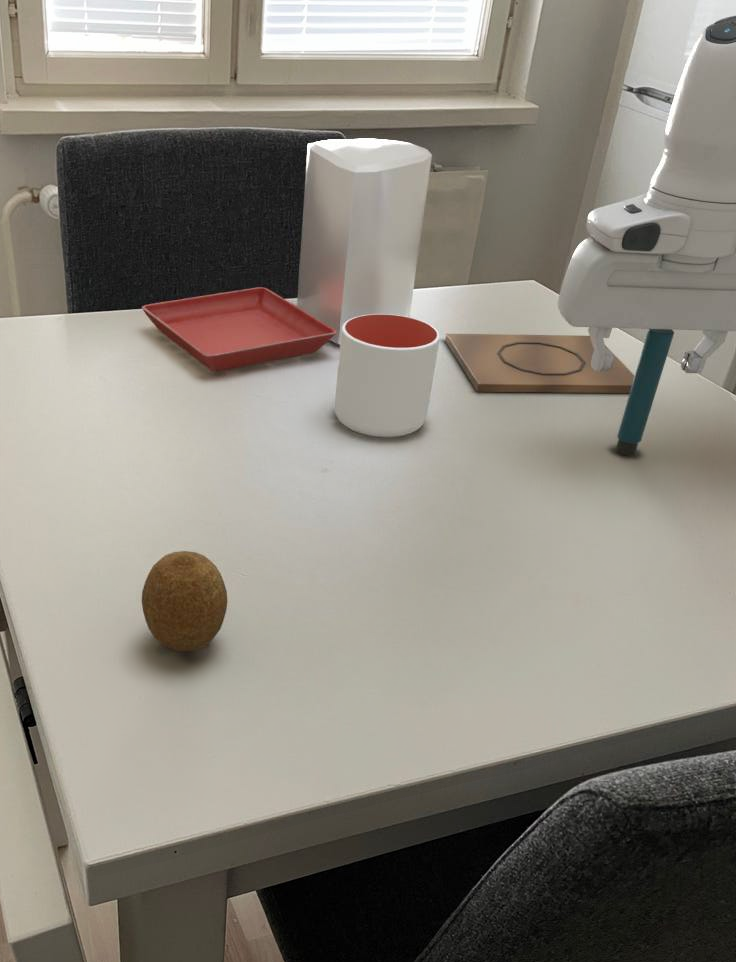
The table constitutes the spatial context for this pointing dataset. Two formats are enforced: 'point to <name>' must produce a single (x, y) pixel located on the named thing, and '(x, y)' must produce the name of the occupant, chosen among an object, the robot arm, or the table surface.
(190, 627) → the fruit
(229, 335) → the plant saucer
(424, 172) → the silvery white canister
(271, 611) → the table surface
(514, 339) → the pad
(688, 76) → the robot arm
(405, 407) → the cup
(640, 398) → the marker
